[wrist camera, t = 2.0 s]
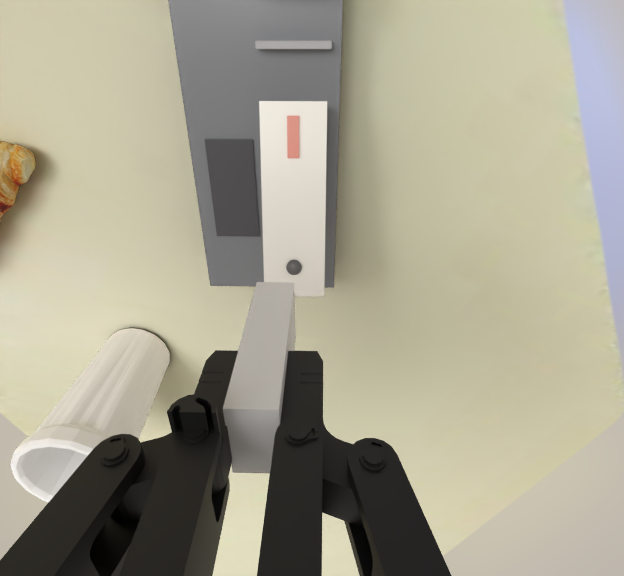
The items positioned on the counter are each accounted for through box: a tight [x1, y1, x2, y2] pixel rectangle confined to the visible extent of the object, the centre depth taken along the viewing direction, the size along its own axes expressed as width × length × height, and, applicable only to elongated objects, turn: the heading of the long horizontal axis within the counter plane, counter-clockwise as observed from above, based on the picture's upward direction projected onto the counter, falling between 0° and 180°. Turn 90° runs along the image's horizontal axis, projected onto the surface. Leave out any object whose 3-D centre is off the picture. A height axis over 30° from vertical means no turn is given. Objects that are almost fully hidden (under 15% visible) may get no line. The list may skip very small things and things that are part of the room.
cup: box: [11, 328, 170, 502], centre depth 37 cm, size 8×8×14 cm
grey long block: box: [168, 0, 343, 287], centre depth 26 cm, size 34×10×4 cm, turn 0°
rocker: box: [259, 101, 327, 297], centre depth 27 cm, size 12×4×2 cm, turn 0°
